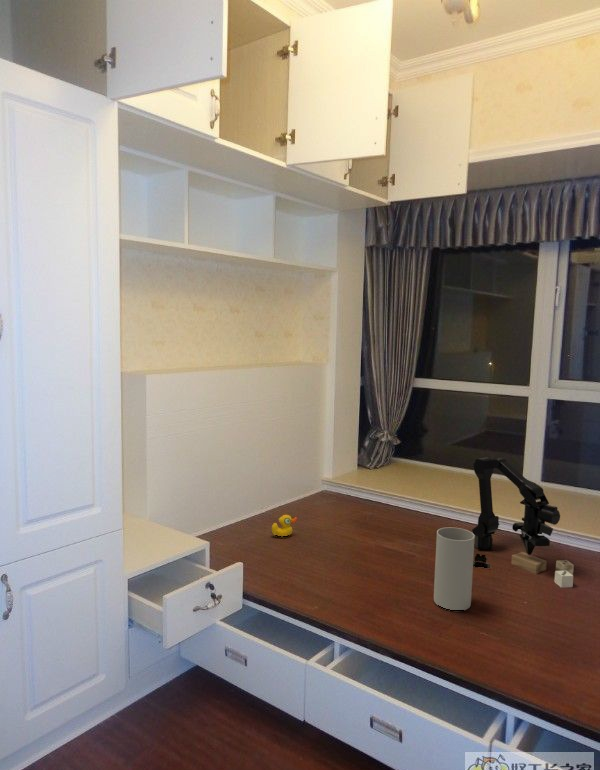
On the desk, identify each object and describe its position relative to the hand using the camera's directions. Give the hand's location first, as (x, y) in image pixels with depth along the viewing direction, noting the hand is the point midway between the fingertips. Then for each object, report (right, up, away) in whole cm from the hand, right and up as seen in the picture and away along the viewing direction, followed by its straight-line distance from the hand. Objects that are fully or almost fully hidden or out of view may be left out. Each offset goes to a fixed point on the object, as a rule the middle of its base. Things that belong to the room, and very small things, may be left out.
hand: (529, 554), depth 229 cm
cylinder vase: (-39, -8, -31) cm, 51 cm away
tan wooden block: (0, -5, +1) cm, 5 cm away
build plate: (-19, -5, +1) cm, 20 cm away
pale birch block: (+12, -6, -5) cm, 14 cm away
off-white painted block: (+7, -7, -15) cm, 18 cm away
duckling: (-100, 0, +27) cm, 103 cm away
